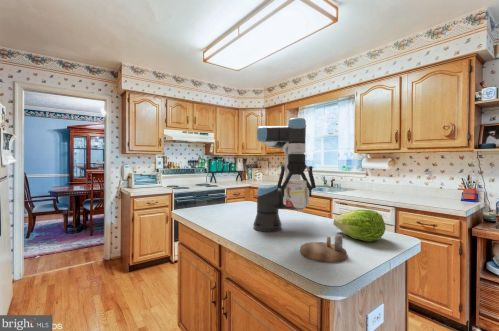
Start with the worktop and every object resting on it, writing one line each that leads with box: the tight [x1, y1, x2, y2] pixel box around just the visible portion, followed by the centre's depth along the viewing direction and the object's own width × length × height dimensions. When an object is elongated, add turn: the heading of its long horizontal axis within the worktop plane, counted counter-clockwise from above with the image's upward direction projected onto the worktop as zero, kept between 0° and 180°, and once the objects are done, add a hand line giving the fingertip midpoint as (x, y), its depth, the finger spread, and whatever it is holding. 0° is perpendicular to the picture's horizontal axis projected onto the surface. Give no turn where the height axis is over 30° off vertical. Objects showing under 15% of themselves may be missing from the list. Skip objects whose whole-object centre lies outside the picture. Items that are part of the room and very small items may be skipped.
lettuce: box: [332, 209, 386, 243], centre depth 123 cm, size 17×24×14 cm
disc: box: [299, 234, 348, 264], centre depth 102 cm, size 18×18×8 cm
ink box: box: [285, 179, 308, 209], centre depth 112 cm, size 9×5×12 cm, turn 60°
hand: (296, 204), depth 112 cm, fingers closed on ink box, 9 cm apart
